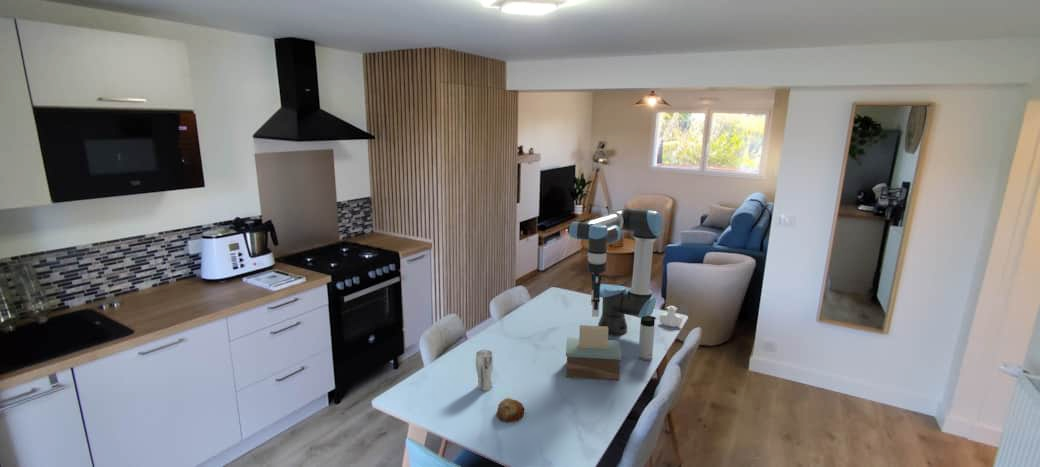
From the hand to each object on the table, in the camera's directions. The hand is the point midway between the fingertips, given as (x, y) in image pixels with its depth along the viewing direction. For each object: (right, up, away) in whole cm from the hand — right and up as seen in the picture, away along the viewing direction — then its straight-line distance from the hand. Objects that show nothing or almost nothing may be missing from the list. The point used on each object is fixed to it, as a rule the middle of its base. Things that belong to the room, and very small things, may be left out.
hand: (594, 310), depth 205 cm
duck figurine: (+50, -17, +57) cm, 77 cm away
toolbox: (0, -28, +6) cm, 28 cm away
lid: (0, -18, +4) cm, 18 cm away
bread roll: (-35, -35, -26) cm, 56 cm away
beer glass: (-46, -30, -7) cm, 56 cm away
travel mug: (+27, -25, +19) cm, 41 cm away
